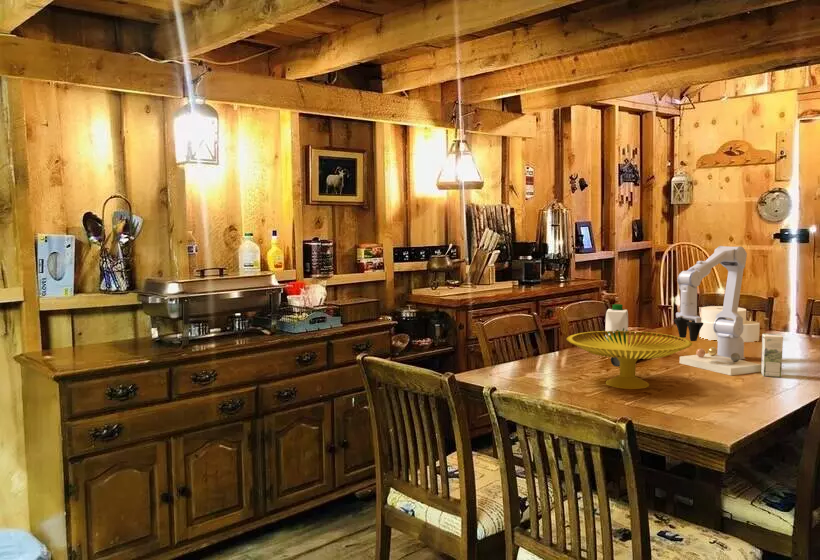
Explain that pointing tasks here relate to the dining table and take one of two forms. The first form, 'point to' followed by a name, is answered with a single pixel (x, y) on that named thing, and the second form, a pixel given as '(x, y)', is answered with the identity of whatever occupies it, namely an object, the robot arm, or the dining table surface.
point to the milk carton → (616, 321)
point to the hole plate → (720, 364)
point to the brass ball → (712, 351)
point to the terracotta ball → (700, 352)
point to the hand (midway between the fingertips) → (688, 339)
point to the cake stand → (628, 352)
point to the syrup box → (771, 355)
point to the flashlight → (615, 361)
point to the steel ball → (735, 357)
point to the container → (709, 316)
